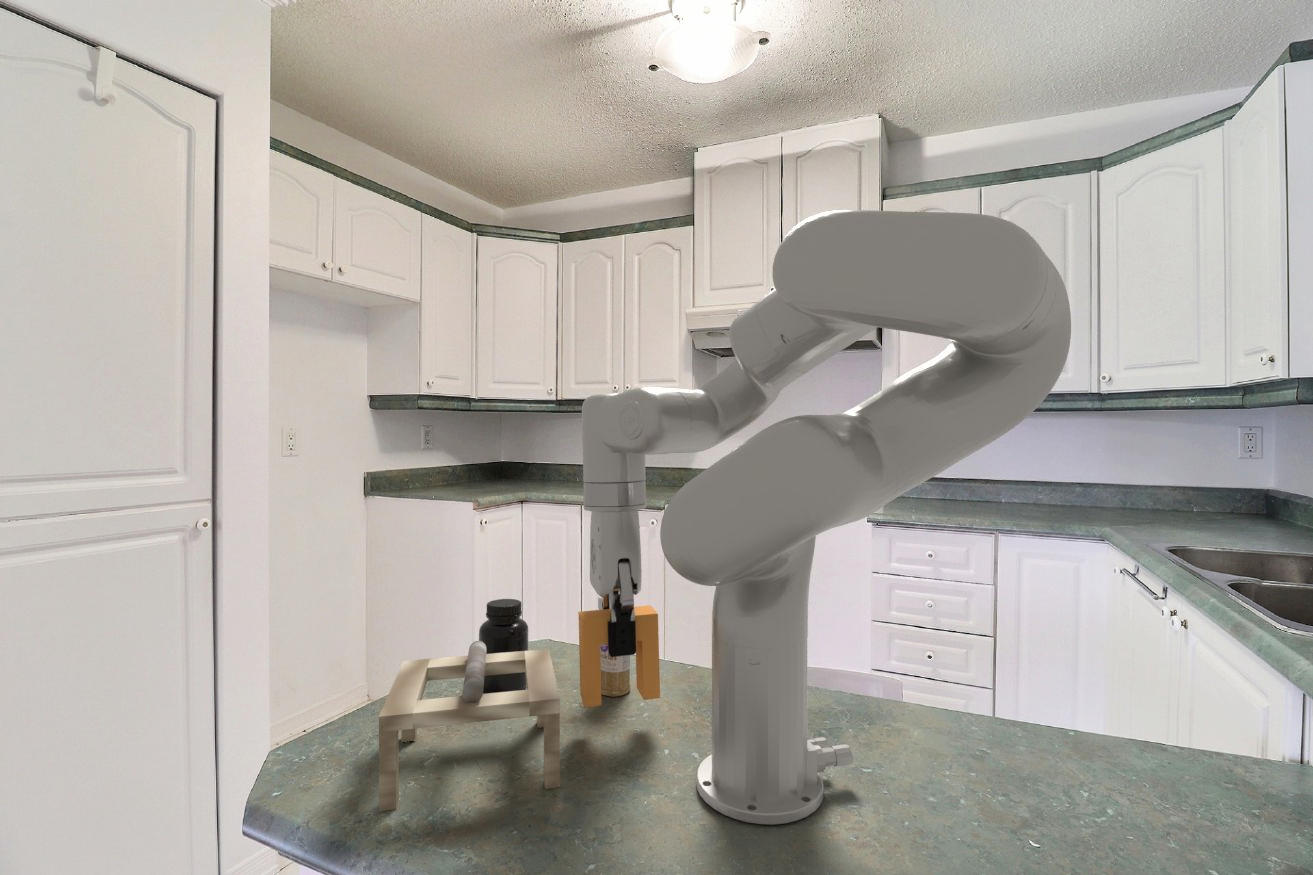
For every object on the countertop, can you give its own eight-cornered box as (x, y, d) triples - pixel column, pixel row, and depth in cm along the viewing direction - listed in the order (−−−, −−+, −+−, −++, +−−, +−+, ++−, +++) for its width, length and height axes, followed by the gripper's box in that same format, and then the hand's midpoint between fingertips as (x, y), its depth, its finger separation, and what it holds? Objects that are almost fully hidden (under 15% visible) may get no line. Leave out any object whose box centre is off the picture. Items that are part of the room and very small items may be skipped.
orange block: (652, 685, 78) (650, 605, 78) (660, 698, 74) (658, 613, 74) (580, 694, 76) (578, 611, 76) (584, 707, 72) (582, 620, 72)
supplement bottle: (522, 698, 85) (521, 609, 85) (471, 697, 85) (471, 609, 85) (533, 678, 92) (532, 596, 92) (486, 677, 92) (486, 596, 92)
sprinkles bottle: (591, 694, 86) (591, 596, 86) (609, 682, 90) (609, 588, 90) (620, 700, 84) (620, 600, 84) (637, 688, 88) (637, 592, 88)
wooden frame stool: (549, 721, 78) (549, 632, 78) (559, 787, 63) (559, 678, 63) (403, 736, 74) (403, 643, 74) (379, 811, 59) (378, 695, 59)
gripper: (576, 493, 83) (579, 632, 83) (593, 503, 66) (597, 677, 66) (631, 490, 85) (635, 626, 84) (662, 500, 68) (666, 669, 68)
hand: (618, 647), depth 75 cm, fingers closed on orange block, 4 cm apart
